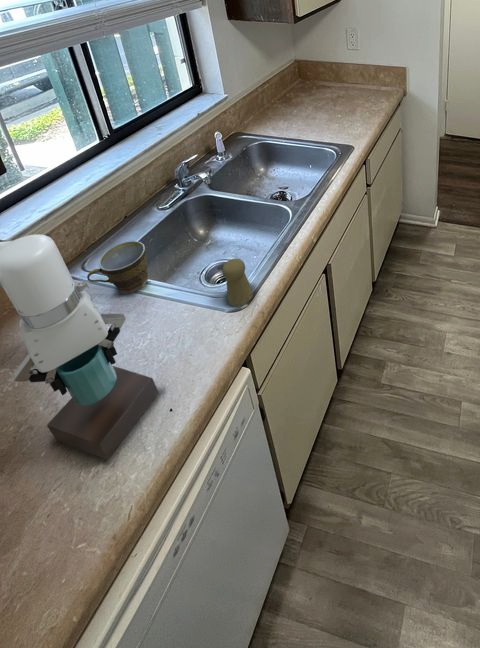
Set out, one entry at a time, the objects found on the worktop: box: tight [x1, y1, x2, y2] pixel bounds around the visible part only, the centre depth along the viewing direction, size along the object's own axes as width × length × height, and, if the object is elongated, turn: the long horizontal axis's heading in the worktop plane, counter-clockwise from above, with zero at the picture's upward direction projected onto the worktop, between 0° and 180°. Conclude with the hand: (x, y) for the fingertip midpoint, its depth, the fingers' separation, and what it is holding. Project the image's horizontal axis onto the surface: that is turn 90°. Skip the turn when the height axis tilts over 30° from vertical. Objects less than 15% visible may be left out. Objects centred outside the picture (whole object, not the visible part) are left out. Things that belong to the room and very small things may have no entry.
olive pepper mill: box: [221, 257, 254, 307], centre depth 107 cm, size 6×6×11 cm
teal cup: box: [56, 344, 117, 406], centre depth 78 cm, size 7×7×9 cm
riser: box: [46, 365, 160, 461], centre depth 83 cm, size 12×12×5 cm
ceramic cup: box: [86, 240, 149, 295], centre depth 110 cm, size 13×10×10 cm
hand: (88, 372), depth 78 cm, fingers closed on teal cup, 6 cm apart
